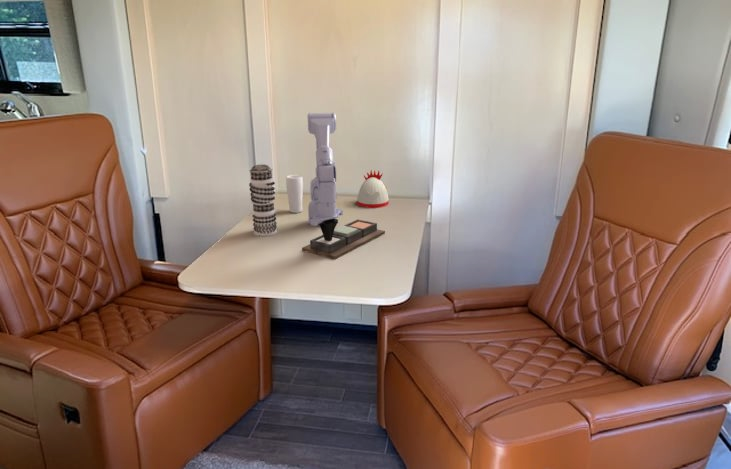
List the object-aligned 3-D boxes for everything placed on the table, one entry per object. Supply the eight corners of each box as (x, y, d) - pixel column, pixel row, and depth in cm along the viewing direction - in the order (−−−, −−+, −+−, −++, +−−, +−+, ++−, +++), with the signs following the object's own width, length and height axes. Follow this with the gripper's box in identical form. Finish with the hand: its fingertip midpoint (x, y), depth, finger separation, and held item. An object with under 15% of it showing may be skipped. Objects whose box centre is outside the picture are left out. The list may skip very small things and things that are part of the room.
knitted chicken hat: (388, 208, 223) (388, 173, 218) (356, 207, 223) (355, 173, 218) (388, 199, 236) (388, 166, 231) (358, 199, 237) (357, 166, 232)
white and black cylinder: (273, 226, 200) (269, 162, 192) (281, 233, 192) (277, 166, 184) (250, 230, 196) (244, 164, 188) (257, 237, 188) (251, 169, 180)
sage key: (332, 235, 182) (332, 230, 182) (343, 230, 187) (343, 225, 187) (347, 239, 179) (346, 233, 178) (357, 234, 184) (357, 228, 183)
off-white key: (314, 246, 175) (314, 241, 175) (326, 241, 180) (326, 235, 180) (329, 250, 172) (329, 244, 171) (341, 244, 177) (341, 239, 176)
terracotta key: (348, 231, 190) (348, 226, 189) (358, 226, 195) (358, 221, 194) (362, 234, 187) (362, 229, 186) (372, 229, 191) (372, 224, 191)
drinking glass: (307, 210, 220) (306, 175, 215) (297, 214, 214) (295, 179, 209) (295, 208, 223) (293, 173, 218) (284, 212, 218) (282, 177, 213)
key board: (302, 250, 176) (301, 240, 175) (353, 226, 199) (353, 217, 198) (334, 259, 168) (334, 248, 167) (384, 233, 192) (384, 223, 190)
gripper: (322, 208, 163) (323, 249, 168) (349, 198, 174) (350, 236, 179) (305, 205, 167) (307, 244, 171) (333, 195, 178) (334, 232, 183)
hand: (328, 240), depth 175 cm, fingers closed, pressing on off-white key
